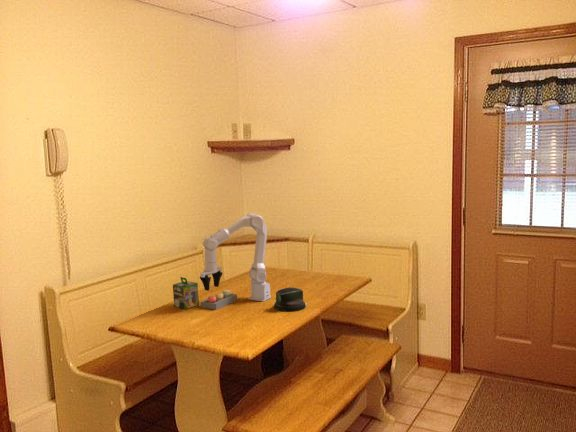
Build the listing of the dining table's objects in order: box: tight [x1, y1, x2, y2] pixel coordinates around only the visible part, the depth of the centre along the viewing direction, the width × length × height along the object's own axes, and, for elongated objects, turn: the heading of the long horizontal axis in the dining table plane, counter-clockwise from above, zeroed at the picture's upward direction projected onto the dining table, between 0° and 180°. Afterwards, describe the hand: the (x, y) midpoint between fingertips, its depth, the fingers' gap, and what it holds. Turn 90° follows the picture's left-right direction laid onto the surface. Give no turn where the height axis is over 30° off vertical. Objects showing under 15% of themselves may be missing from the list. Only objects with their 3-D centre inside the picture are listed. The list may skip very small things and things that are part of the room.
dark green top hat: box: [272, 286, 308, 313], centre depth 264 cm, size 20×20×9 cm
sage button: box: [221, 289, 231, 297], centre depth 277 cm, size 4×4×3 cm
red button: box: [207, 295, 216, 303], centre depth 266 cm, size 4×4×3 cm
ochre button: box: [214, 292, 223, 300], centre depth 272 cm, size 4×4×3 cm
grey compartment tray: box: [200, 293, 238, 311], centre depth 272 cm, size 9×18×3 cm, turn 151°
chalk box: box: [172, 276, 200, 310], centre depth 269 cm, size 9×9×15 cm
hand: (211, 288), depth 269 cm, fingers open, 7 cm apart
